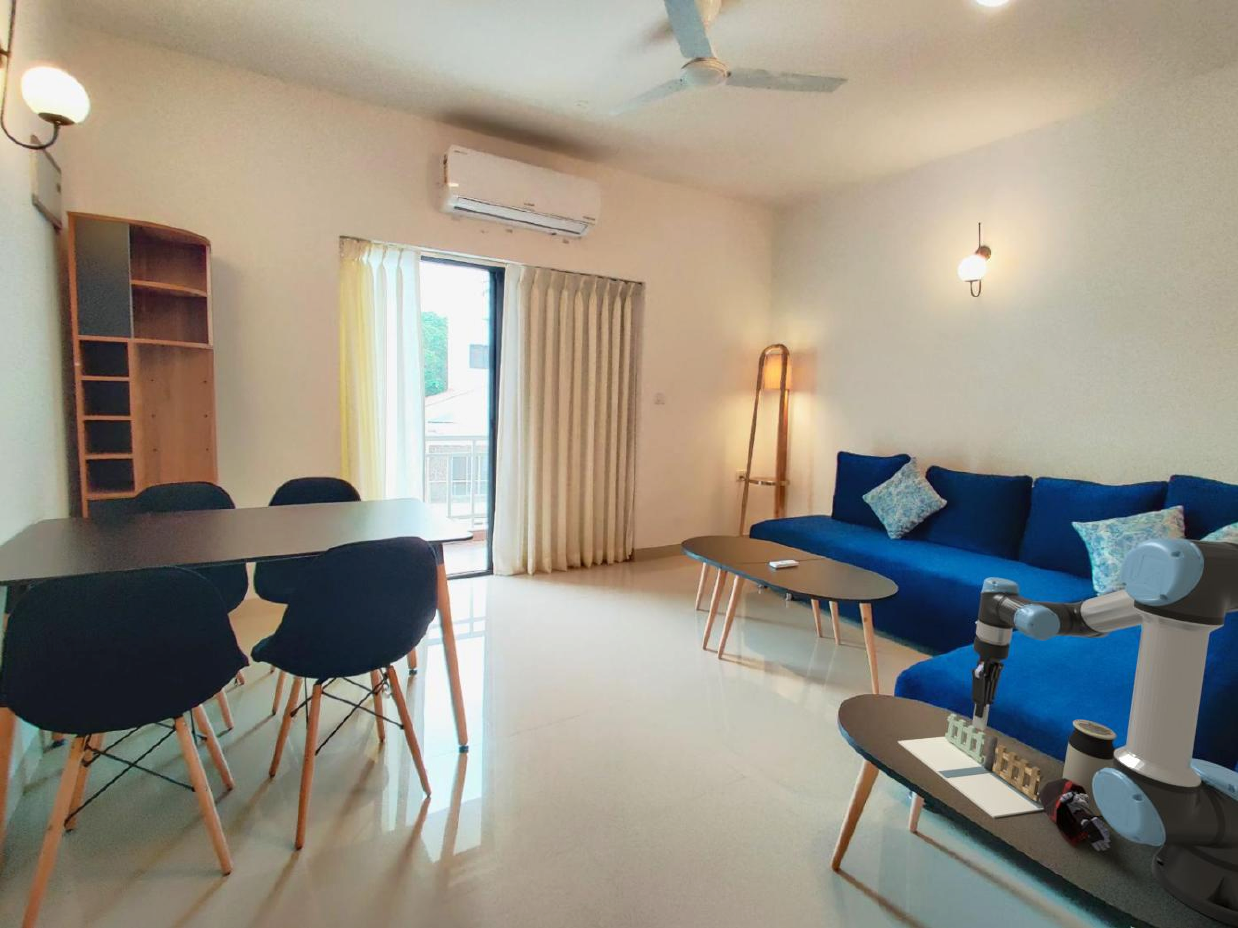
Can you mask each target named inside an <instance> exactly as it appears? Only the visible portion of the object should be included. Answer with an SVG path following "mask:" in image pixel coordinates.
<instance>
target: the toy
mask: <svg viewBox="0 0 1238 928" xmlns="http://www.w3.org/2000/svg"><path fill="white" fill-rule="evenodd" d="M1062 778H1063V777H1062ZM1062 778H1059V779H1056V780H1051V781H1048V782H1046V783H1045V784H1044V786H1043V787H1042V789H1041V790H1040V792H1038V793H1039V798H1040V801H1041V803H1042V805H1043V808H1044V810H1043V811H1044V812H1045V813H1046V814H1047V815H1048V816H1049V819H1050V820H1051V821H1053V822H1054V824H1055V825H1056V828H1057V829H1058V831H1059V833H1060V834H1061V836H1062V837H1063V838H1064V839H1065V840H1066V842H1067V843H1069V844H1070V846H1071V847H1073V848H1076V847H1077V846H1078V843H1079V842H1080V841H1081V840H1085V838H1087V837H1088V838H1089V842H1090V844H1091V846H1092V848H1094V849H1095V850H1096V851H1097V852H1100V851H1103V852H1104V851H1106V850H1107V849H1109V848H1111V846H1110V844H1109V843H1110V842H1111V839H1110V837H1111V835H1110V831H1109V828H1106V827H1105V826H1103V824H1104V823H1103V820H1101V819H1099V818H1098V817H1097V816H1094V815H1088V813H1089V812H1090V813H1091V814H1092V812H1091V810H1090V808H1089V806H1088V802H1087V801H1088V800H1089V797H1088V795H1086V791H1085V790H1084V788H1083V787H1082V786H1080V785H1078V784H1076V783H1074V782H1072V781H1070V780H1068V779H1066V778H1063V779H1062Z"/></svg>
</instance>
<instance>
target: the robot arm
mask: <svg viewBox="0 0 1238 928" xmlns="http://www.w3.org/2000/svg"><path fill="white" fill-rule="evenodd" d="M1119 570H1120V573H1119V576H1120V577H1119V578H1120V582H1121V584H1122V585H1124V586H1125V587H1124V589H1121V590H1120V589H1119V590H1117V591H1114V592H1110V593H1107V594H1103V595H1099V596H1095V597H1093V598H1088V599H1086V600H1081V601H1078V602H1074V603H1073V602H1072V603H1071V602H1070V603H1069V602H1056V601H1055V602H1053V601H1038V600H1036V601H1035V600H1032V599H1031V600H1030V599H1027V598H1025V597H1023V596H1021V595H1019V593H1020V591H1019V590H1020V587H1019V584H1018V583H1017V582H1015V581H1013V580H1010V579H1007V578H1001V577H994V576H993V577H987V578H985V579H984V580H983V583H982V584H983V585H982V590H981V592H980V601H979V607H978V614H977V616H978V617H977V620H976V621H975V624H974V625H976V629H975V634H976V636H975V637H974V641H973V648H972V649H973V651H974V652H975V653H976V654H978V656H979V658H978V659H977V660H976V661H977V662H976V667H977V668H973V667H972V669H971V676H972V677H971V678H972V679H971V680H972V681H971V682H972V683H971V699H970V701H971V702H972V703H974V708H973V709H974V710H973V717H972V723H971V725H972V726H973V727H975V728H976V729H978V730H980V731H981V732H984V731H985V730H987V723H988V717H989V712H990V706H992V707H993V706H995V702H993V701H994V700H995V699H996V694H997V690H998V686H999V682H1000V678H1001V674H1002V671H1003V669H1004V666H1005V663H1004V662H1002V661H1004V660H1007V659H1008V658H1009V654H1010V643H1011V641H1012V636H1013V629H1015V630H1017V631H1019V632H1020V633H1022V634H1023V635H1026V637H1029V638H1033V639H1034V640H1038V641H1047V640H1048V639H1052V638H1054V637H1055V636H1065V637H1079V638H1087V639H1093V638H1105V637H1107V636H1109V634H1110V633H1112V632H1113V631H1118V630H1122V629H1126V628H1132V627H1137V626H1141V631H1140V640H1139V646H1138V655H1137V662H1136V669H1135V676H1134V684H1133V692H1132V696H1131V697H1132V698H1131V707H1130V713H1129V721H1128V728H1127V735H1126V743H1125V745H1123V746H1120V747H1118V748H1115V751H1114V756H1113V763H1112V768H1104V769H1101V770H1100V771H1098V772H1096V774H1095V775H1094V777H1093V782H1092V788H1093V795H1094V798H1095V801H1096V804H1097V806H1098V808H1099V809H1100V811H1101V813H1102V815H1101V816H1102V817H1103V818H1104V820H1105V821H1106V823H1107V824H1108V825H1109V826H1110V827H1111V828H1112V829H1113V830H1114V831H1115V832H1116V833H1117V834H1118V835H1120V836H1121V837H1122V838H1125V840H1128V841H1130V842H1133V843H1136V844H1143V845H1144V844H1145V845H1150V846H1153V847H1159V848H1158V850H1157V852H1155V854H1154V856H1153V858H1152V863H1151V867H1150V868H1151V873H1152V875H1153V877H1154V879H1155V880H1156V881H1157V882H1158V883H1159V885H1160V886H1161V887H1162V888H1164V890H1166V891H1167V892H1168V893H1169V894H1170V895H1172V896H1173V897H1174V898H1175V899H1177V900H1179V901H1180V902H1181V903H1183V904H1184V905H1186V906H1188V907H1190V908H1191V909H1193V910H1195V911H1197V912H1199V911H1200V912H1199V913H1201V914H1202V915H1205V916H1207V917H1209V918H1211V919H1213V918H1214V920H1216V921H1219V922H1220V923H1224V924H1226V925H1227V924H1228V925H1230V926H1232V927H1233V926H1234V927H1238V772H1237V771H1233V770H1231V769H1230V768H1227V767H1224V766H1222V765H1219V764H1218V763H1217V764H1216V763H1213V762H1210V761H1207V760H1203V759H1198V758H1193V751H1194V744H1195V738H1196V737H1195V736H1196V732H1197V731H1196V729H1197V725H1198V724H1197V723H1198V716H1199V710H1200V709H1199V708H1200V703H1201V695H1202V689H1203V688H1202V687H1203V682H1204V674H1205V668H1206V660H1207V654H1208V653H1207V652H1208V645H1209V638H1210V634H1211V633H1212V632H1214V631H1215V630H1218V629H1220V628H1222V627H1224V625H1225V617H1226V614H1229V613H1234V612H1238V543H1236V542H1229V541H1228V542H1227V541H1212V540H1211V541H1210V540H1209V541H1208V540H1199V539H1198V540H1197V539H1189V538H1179V537H1178V538H1177V537H1176V538H1175V537H1169V538H1150V539H1147V540H1143V541H1140V542H1139V543H1138V544H1136V545H1134V546H1133V547H1132V548H1131V549H1129V551H1127V552H1126V554H1125V556H1124V558H1123V559H1122V562H1121V565H1120V569H1119Z"/></svg>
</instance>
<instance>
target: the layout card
mask: <svg viewBox="0 0 1238 928" xmlns="http://www.w3.org/2000/svg"><path fill="white" fill-rule="evenodd" d="M954 737H955V738H957V735H955V736H954ZM963 743H964V744H965V745H966V741H964V742H963ZM897 744H899V745H900V746H901V747H903V748H904V749H905V750H906V751H908V752H909V753H910V754H912V755H913V756H914V757H916V758H917V759H918V761H920V762H922V763H923V764H924V765H925V766H926V767H929V769H931V771H933V772H934V773H936V774H937V775H938V776H939V777H941V778H942V779H943V780H944V781H945V782H947V783H949V784H950V785H951V786H952V787H953V788H955V789H956V790H957V791H958V792H960V793H961V794H962V795H964V796H965V797H966V799H967V798H968V799H969V800H970V801H971V802H973V803H974V804H975V805H976V806H977V807H979V808H980V809H982V810H983V811H984V812H985V813H986V814H987V815H989V816H990V817H992V818H993V819H995V818H1000V817H1008V816H1015V815H1023V814H1028V813H1036V812H1043V811H1045V810H1044V808H1043V805H1042V803H1041V801H1040V798H1039V801H1035V800H1032V799H1030V798H1029V797H1028V795H1026V794H1025V793H1023V792H1020V791H1019V790H1017V789H1016V787H1015V786H1013V785H1012V784H1009V783H1008V782H1006V781H1005V779H1003V778H1002V777H1001V776H1000V777H999V776H998V775H996V774H995V772H993V771H988V770H986V769H985V768H984V765H985V758H986V755H983V754H982V756H983V757H984V762H983V763H981V762H978V761H976V760H975V759H974V758H973V757H972V756H971V755H968V754H966V753H965V751H964V750H962V749H961V748H960V749H959V748H958V747H957V746H956V745H955V744H954V743H952V742H949V741H948V740H947V739H946V738H945V736H936V737H927V738H925V737H924V738H917V739H907V740H898V741H897ZM975 749H976V748H973V750H974V751H975ZM994 766H996V763H995V762H994ZM1003 771H1005V772H1006V773H1007V770H1005V769H1004V770H1003ZM1014 778H1015V779H1016V780H1018V777H1016V776H1014ZM1025 786H1026V787H1028V788H1029V786H1028V784H1026V785H1025ZM1039 793H1040V792H1037V794H1038V795H1039Z"/></svg>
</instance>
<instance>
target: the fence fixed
mask: <svg viewBox="0 0 1238 928" xmlns="http://www.w3.org/2000/svg"><path fill="white" fill-rule="evenodd" d="M998 739H999V738H997V736H995V735H991V734H990V735H988V739H987V744H986V745H987V746H986V754H985V757H986V758H985V765H984V768H985V769H986V770H988V771H993V772H995V774H996V775H998V776H999V777H1000V776H1001V777H1002V778H1003V779H1005V781H1006V782H1008V783H1009V784H1012V785H1013V786H1015V787H1016V789H1017V790H1019V791H1020V792H1023V793H1025V794H1026V795H1028V797H1029V798H1030V799H1032V800H1035V801H1039V795H1038V794H1037V793H1038V789H1039V785H1040V782H1043V778H1044V776H1043V775H1042V774H1041V772H1042V771H1041V769H1040V768H1038V767H1037V766H1032V767H1030V766H1029V765H1030V762H1029V761H1028V760H1027V759H1025V758H1023V759H1020V760H1019V759H1018V757H1019V756H1018V754H1017V753H1015V752H1014V751H1009V753H1008V752H1007V751H1008V750H1007V749H1008V748H1007V747H1006V746H1005V745H1003V744H1000V745H998ZM997 745H998V747H997ZM996 755H997V756H996ZM995 759H996V763H995ZM1005 761H1007V766H1006V767H1007V768H1006V770H1005ZM994 763H995V764H996V766H994ZM1017 768H1018V769H1019V770H1018V775H1017V779H1018V780H1016V779H1015V778H1014V777H1016V776H1015V774H1016V770H1017ZM1003 770H1005V771H1007V773H1006V772H1005V771H1003ZM1028 775H1029V776H1030V779H1029V788H1028V787H1026V786H1025V785H1027V784H1026V783H1027V779H1028V778H1027V777H1028Z"/></svg>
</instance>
